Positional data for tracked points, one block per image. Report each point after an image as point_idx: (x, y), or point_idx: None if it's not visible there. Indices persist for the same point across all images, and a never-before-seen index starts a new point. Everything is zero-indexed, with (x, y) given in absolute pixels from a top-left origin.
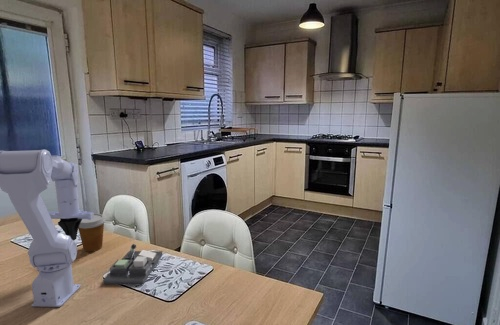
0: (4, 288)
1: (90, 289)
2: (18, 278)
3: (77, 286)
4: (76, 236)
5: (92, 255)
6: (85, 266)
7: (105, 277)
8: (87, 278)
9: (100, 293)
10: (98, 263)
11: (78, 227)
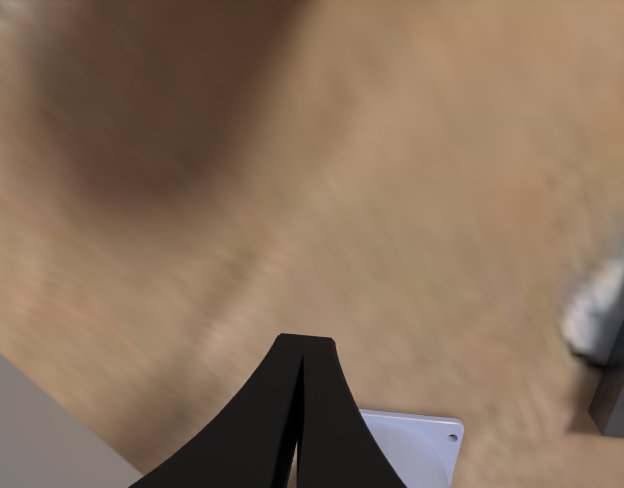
0: (50, 395)
1: (524, 443)
2: (32, 315)
3: (447, 433)
4: (336, 356)
5: (363, 5)
6: (387, 204)
7: (612, 416)
8: (466, 349)
9: (589, 475)
10: (475, 164)
11: (378, 451)
